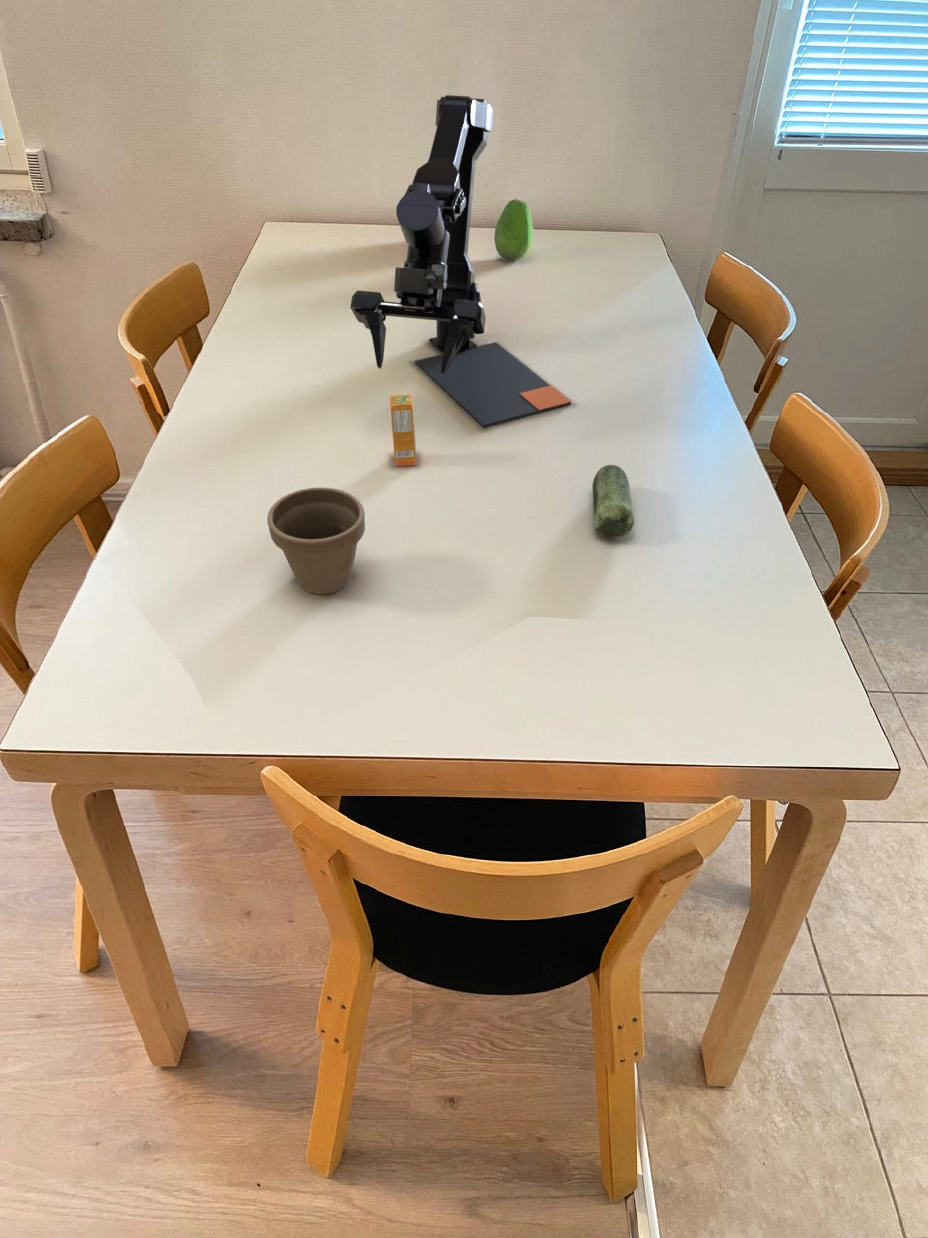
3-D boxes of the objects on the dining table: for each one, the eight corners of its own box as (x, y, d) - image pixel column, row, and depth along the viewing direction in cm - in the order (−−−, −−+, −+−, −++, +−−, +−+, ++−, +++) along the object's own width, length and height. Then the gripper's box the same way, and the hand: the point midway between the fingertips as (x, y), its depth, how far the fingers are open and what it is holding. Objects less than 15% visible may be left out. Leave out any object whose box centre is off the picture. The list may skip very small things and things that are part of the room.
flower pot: (259, 572, 121) (248, 505, 114) (337, 540, 126) (331, 474, 120) (306, 621, 114) (298, 553, 107) (386, 585, 119) (383, 518, 113)
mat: (414, 363, 164) (414, 360, 164) (495, 344, 170) (496, 341, 170) (483, 427, 148) (483, 424, 148) (570, 404, 154) (571, 401, 154)
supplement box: (392, 455, 142) (389, 393, 136) (415, 454, 142) (414, 392, 136) (392, 467, 140) (390, 405, 133) (416, 466, 140) (415, 404, 133)
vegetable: (632, 546, 126) (637, 514, 123) (592, 544, 126) (597, 512, 123) (625, 487, 137) (630, 456, 133) (589, 485, 137) (592, 454, 134)
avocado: (532, 266, 197) (536, 205, 189) (493, 265, 197) (495, 205, 189) (530, 251, 203) (534, 192, 195) (493, 251, 203) (495, 191, 195)
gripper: (349, 232, 131) (333, 344, 130) (485, 243, 129) (469, 357, 128) (367, 268, 142) (351, 371, 141) (492, 279, 140) (477, 384, 139)
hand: (410, 370), depth 137 cm, fingers open, 9 cm apart
